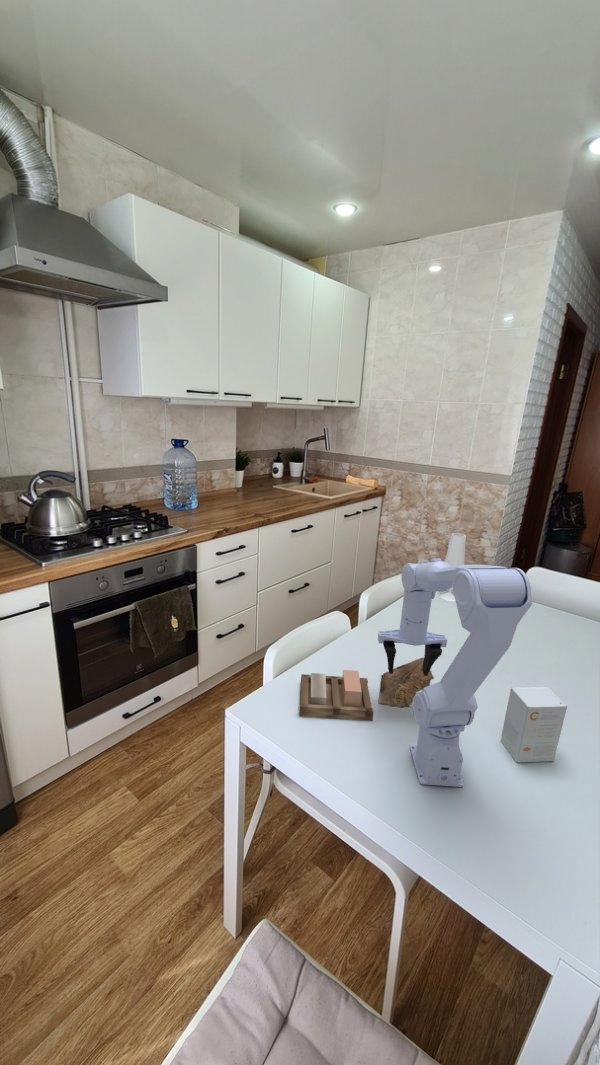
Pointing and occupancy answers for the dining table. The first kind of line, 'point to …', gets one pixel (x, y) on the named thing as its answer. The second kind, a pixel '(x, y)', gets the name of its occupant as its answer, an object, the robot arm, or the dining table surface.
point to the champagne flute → (455, 558)
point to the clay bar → (351, 688)
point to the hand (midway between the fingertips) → (407, 672)
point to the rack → (331, 699)
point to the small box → (533, 724)
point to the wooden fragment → (403, 684)
